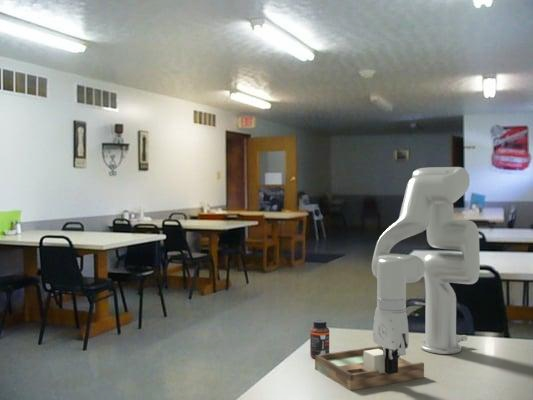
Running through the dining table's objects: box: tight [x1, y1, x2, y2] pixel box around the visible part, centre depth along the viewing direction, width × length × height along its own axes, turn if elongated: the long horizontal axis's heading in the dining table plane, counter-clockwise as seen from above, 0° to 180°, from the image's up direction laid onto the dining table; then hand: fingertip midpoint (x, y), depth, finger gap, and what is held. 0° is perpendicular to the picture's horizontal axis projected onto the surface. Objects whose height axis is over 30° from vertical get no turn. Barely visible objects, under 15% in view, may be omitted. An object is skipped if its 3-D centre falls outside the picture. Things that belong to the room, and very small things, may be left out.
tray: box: [314, 345, 425, 392], centre depth 159 cm, size 24×19×4 cm
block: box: [364, 349, 385, 373], centre depth 154 cm, size 5×5×5 cm
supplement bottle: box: [309, 319, 330, 359], centre depth 174 cm, size 6×6×11 cm
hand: (391, 372), depth 149 cm, fingers closed
